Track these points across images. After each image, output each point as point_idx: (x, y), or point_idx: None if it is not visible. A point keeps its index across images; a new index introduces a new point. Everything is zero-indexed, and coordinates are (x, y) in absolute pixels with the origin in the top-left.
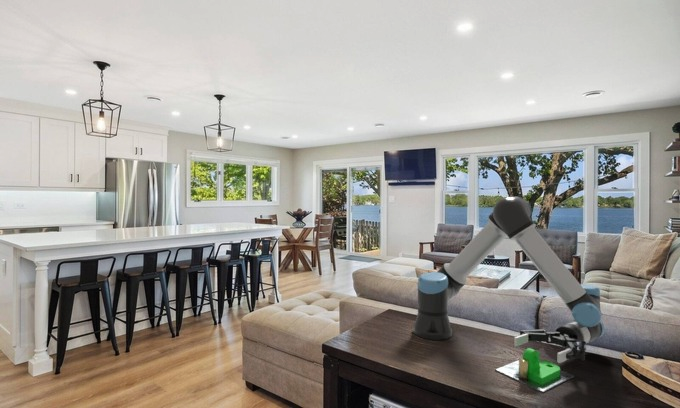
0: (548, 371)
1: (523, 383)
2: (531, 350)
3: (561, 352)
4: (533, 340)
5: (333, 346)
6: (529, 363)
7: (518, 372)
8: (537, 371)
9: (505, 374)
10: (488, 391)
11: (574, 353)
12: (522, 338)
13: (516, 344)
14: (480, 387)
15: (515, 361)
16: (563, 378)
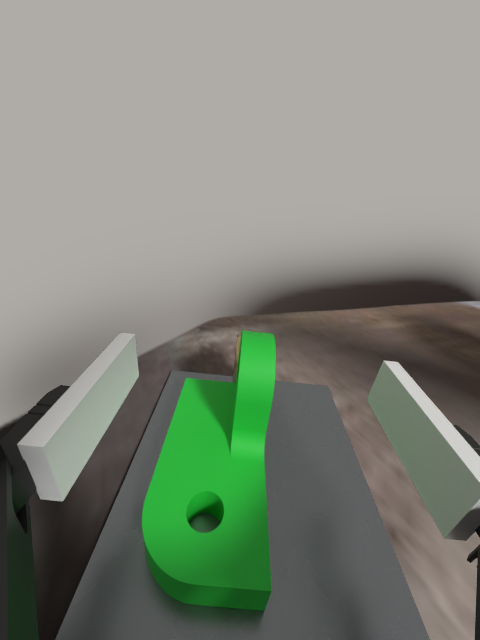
0: (185, 438)
1: (231, 378)
2: (251, 333)
3: (113, 348)
4: (477, 618)
5: (477, 301)
6: (238, 356)
7: (281, 415)
8: (218, 406)
9: (291, 383)
10: (256, 324)
11: (5, 437)
12: (412, 420)
13: (371, 391)
14: (274, 325)
15: (374, 503)
16: (122, 519)
